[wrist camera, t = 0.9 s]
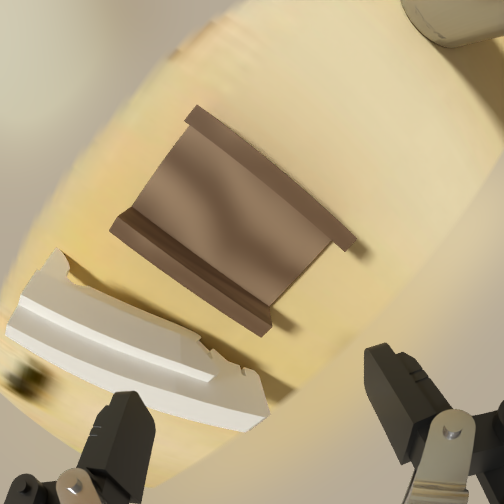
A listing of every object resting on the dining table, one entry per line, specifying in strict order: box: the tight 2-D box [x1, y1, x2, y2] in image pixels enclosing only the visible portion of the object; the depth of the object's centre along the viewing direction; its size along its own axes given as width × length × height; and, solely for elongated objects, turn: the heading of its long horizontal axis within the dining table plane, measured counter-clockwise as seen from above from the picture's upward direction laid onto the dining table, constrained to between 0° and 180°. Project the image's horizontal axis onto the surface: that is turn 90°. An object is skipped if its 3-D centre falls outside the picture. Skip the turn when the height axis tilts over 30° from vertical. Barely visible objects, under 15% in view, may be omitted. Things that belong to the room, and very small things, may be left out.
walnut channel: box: [109, 105, 357, 337], centre depth 25 cm, size 12×16×4 cm
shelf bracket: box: [5, 247, 271, 432], centre depth 27 cm, size 6×25×13 cm, turn 53°
